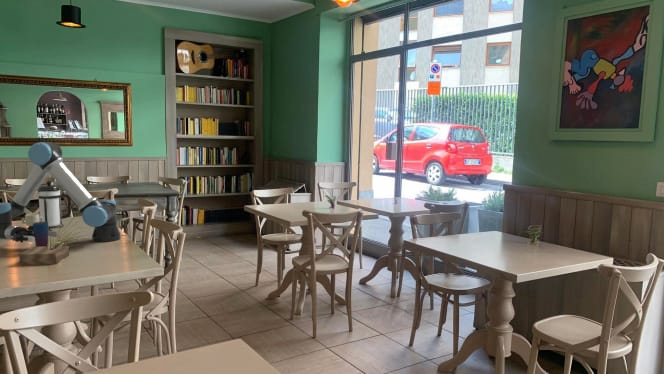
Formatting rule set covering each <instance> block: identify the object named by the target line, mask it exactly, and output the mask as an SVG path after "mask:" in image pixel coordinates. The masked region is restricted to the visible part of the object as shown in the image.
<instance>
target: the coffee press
mask: <svg viewBox="0 0 664 374" xmlns="http://www.w3.org/2000/svg"><path fill="white" fill-rule="evenodd" d="M51 183H52V182H51V181H49V180H48V181H47V182H46V184H44V185H43V184H42V185H40V186H39V188H38V189H37V191H36V192H35V195H36V196H37V198H38V205H39V206H38V207H39V217H43V222H48V228H50V227H60V228H63V227H64V226H65V225H64V224H63V223H62V222H63V221H62V220H63V219H68V218H69V217H71V215H72V214H71V213H72V204H71V203H72V202H71V197H70V196H69V195H68V194H67V193H61V189H62V188H60V185H56V184H51ZM63 197H65V198H66V203H67V214H65V215H62V205H61V198H63ZM39 220H40V221H41V219H39Z"/></svg>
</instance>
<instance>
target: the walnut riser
mask: <svg viewBox="0 0 664 374" xmlns="http://www.w3.org/2000/svg"><path fill="white" fill-rule="evenodd" d="M48 246H49V245H48ZM48 246H44V247H36V246H33V247H31V248H29V249H28V250H26V251H23V252H21V253H20V254H19V255H18V258H19V265H20V266H29V265H31V266H32V265H34V266H35V265H58V264H59V263H60V262H62V261H63V260H64V259H66V258H68V257H69V256H70V247H69V245H60V246H61V247H60V248H57V249H54V250H50V249H48ZM52 246H53V245H51V247H52Z"/></svg>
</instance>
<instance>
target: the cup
mask: <svg viewBox="0 0 664 374" xmlns="http://www.w3.org/2000/svg"><path fill="white" fill-rule="evenodd" d="M33 229H34V236H35V237H34V243H35V247H44V246H47V244H48V245H49V243H48V242H49V236H48V230H49V227H48V222H36V223H33Z"/></svg>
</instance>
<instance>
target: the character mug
mask: <svg viewBox="0 0 664 374" xmlns="http://www.w3.org/2000/svg"><path fill="white" fill-rule="evenodd" d="M40 219H41V221H40ZM36 222H43V217H40V213H29V214H24V217H22V218H21V224H25V225H26V226H27V230H30V231H32V230H34V229H33V223H36ZM33 236H34V234H33Z"/></svg>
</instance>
